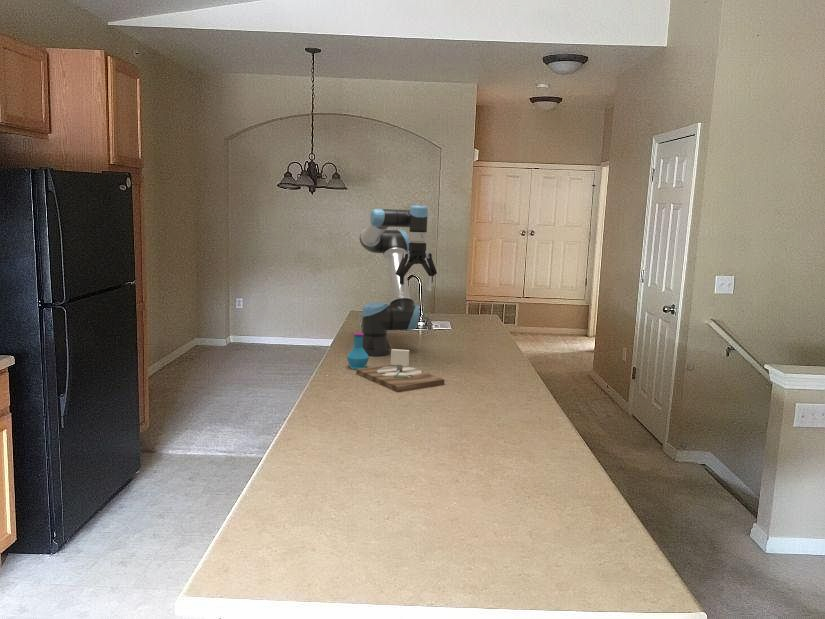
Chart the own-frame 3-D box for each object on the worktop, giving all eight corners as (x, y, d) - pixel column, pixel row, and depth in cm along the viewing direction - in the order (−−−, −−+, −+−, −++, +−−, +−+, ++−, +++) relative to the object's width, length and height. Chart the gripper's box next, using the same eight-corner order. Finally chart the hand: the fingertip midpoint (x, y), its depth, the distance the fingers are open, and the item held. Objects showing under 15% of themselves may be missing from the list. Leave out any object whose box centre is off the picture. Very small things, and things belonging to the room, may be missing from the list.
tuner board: (356, 373, 268) (356, 368, 268) (401, 367, 281) (401, 362, 280) (397, 392, 244) (397, 385, 244) (444, 384, 257) (444, 378, 256)
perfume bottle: (370, 365, 283) (371, 331, 281) (366, 370, 274) (367, 335, 272) (349, 364, 284) (349, 330, 281) (344, 369, 275) (345, 334, 272)
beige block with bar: (386, 376, 257) (386, 354, 256) (391, 370, 267) (392, 348, 266) (403, 377, 256) (404, 355, 255) (408, 371, 266) (409, 350, 265)
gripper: (398, 242, 272) (396, 293, 275) (446, 242, 287) (444, 291, 290) (388, 241, 278) (387, 291, 282) (435, 241, 293) (433, 289, 296)
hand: (416, 291), depth 286 cm, fingers open, 13 cm apart
